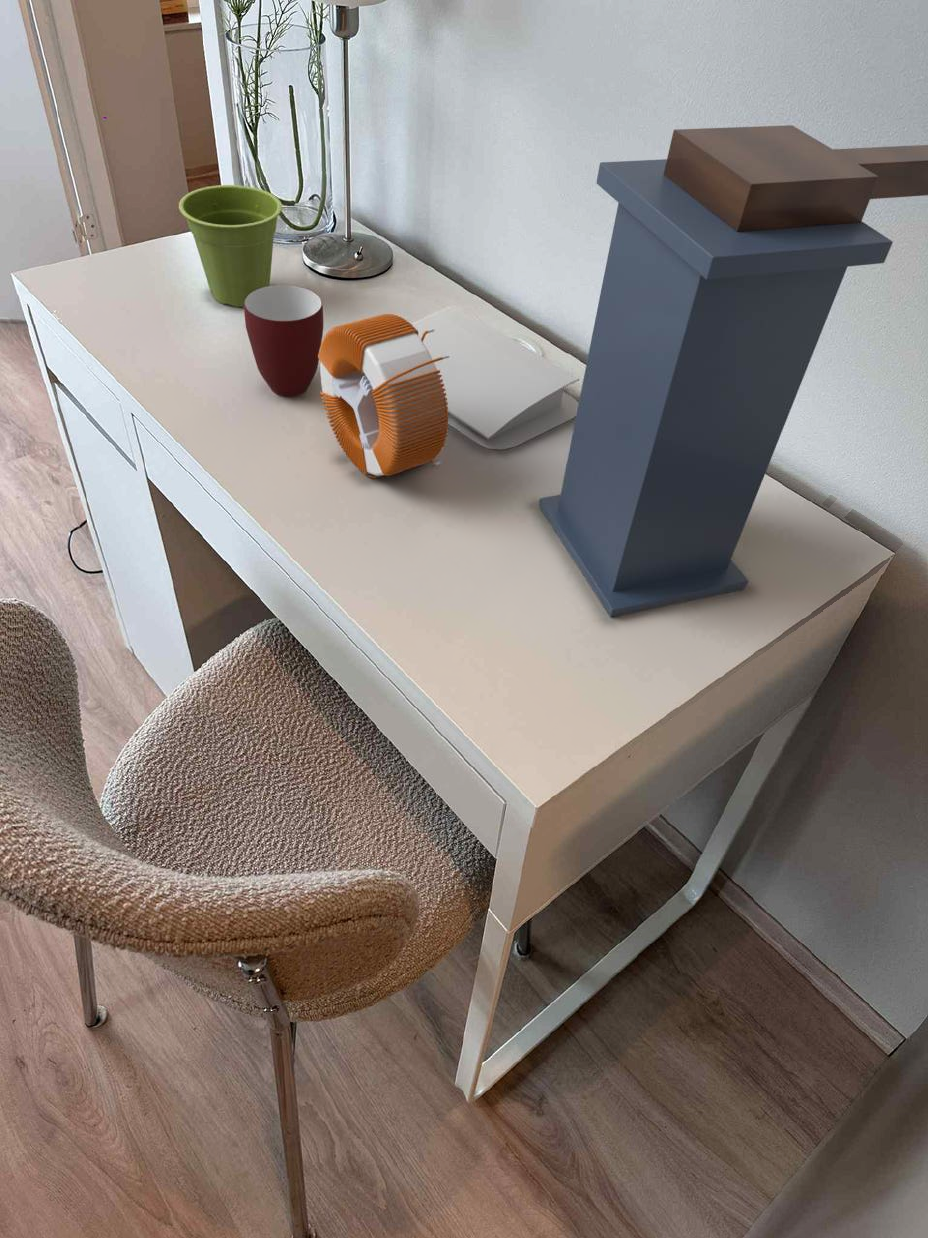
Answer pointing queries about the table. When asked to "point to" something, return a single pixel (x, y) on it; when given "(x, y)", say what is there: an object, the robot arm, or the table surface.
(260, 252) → the plant pot
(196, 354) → the table surface
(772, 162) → the paddle
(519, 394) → the book
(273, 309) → the mug
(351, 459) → the coil
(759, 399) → the blue tapered column stand
